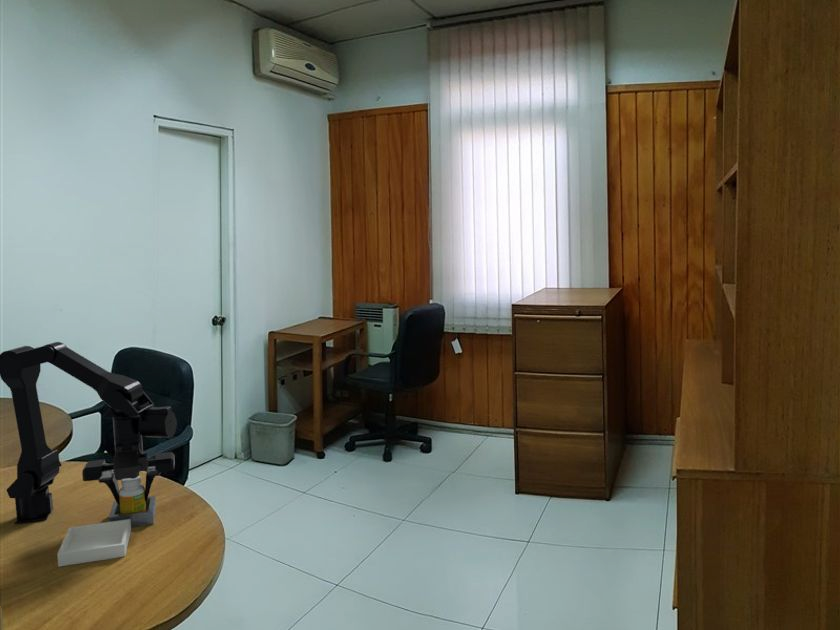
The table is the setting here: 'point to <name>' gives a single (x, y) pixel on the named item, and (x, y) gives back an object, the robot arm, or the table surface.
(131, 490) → the supplement bottle
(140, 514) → the can holder
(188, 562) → the table surface
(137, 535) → the table surface
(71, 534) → the tray
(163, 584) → the table surface
